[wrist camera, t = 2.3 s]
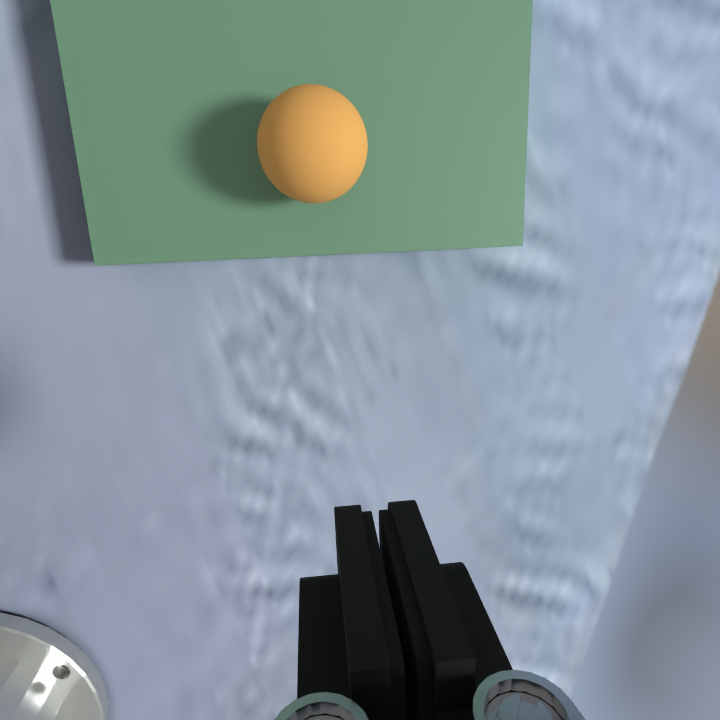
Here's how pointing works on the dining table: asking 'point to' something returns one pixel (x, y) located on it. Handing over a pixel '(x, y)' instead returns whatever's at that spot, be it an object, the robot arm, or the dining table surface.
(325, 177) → the ball
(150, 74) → the putting board
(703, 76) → the dining table surface
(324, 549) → the dining table surface
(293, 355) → the dining table surface
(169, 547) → the dining table surface
